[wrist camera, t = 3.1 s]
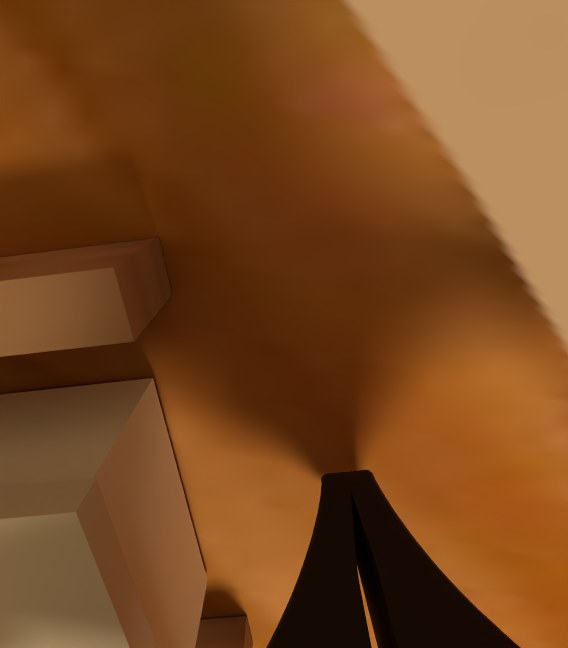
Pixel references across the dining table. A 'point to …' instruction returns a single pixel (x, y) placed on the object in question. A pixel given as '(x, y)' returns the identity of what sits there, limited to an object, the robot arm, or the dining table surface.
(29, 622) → the beige square block
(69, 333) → the bay
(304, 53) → the dining table surface
